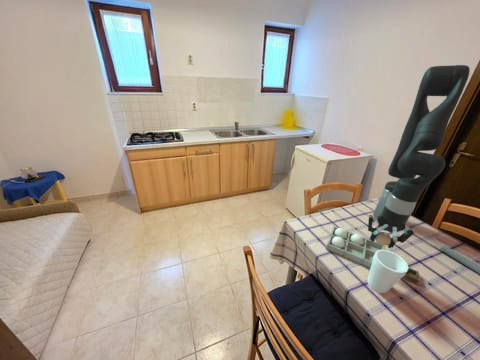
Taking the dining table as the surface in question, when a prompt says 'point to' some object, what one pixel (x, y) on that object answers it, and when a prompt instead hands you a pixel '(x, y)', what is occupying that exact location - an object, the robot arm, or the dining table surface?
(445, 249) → the kitchen whisk
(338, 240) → the cream egg
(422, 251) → the dining table surface
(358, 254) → the egg carton
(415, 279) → the egg stand
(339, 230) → the cream egg
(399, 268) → the foam cup
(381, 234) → the beige sphere
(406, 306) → the dining table surface
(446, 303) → the dining table surface
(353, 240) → the cream egg
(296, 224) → the dining table surface
